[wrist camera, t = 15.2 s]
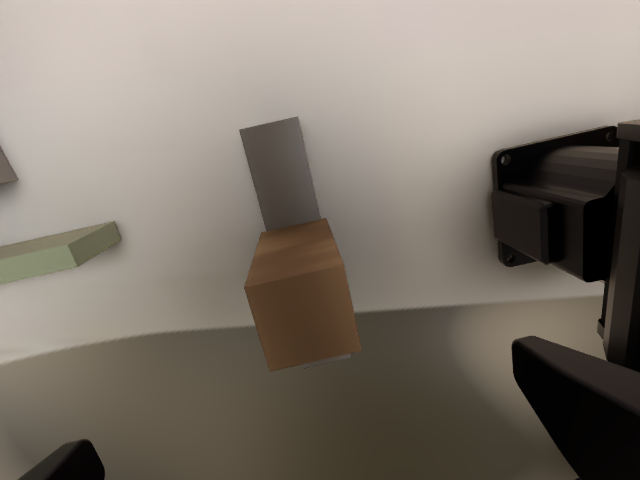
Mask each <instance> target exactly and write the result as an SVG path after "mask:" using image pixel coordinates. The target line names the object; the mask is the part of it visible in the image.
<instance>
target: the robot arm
mask: <svg viewBox="0 0 640 480" xmlns="http://www.w3.org/2000/svg"><path fill="white" fill-rule="evenodd" d="M607 133H609V137H608V139H607V140H606V134H607ZM504 155H505V156H506V161H505V163H503V164H502V162H501V158H502V157H503V156H504ZM492 164H493V179H494V192H493V194H492V207H493V221H494V235H495V238H496V239H498V252H499V260H500V262H501V263H502V264H504V265H505V266H508V267H514V266H518V265H522V264H527V263H531V262H535V261H539V262H541V263H543V264H545V265H547V264H552V265H554V266H556V267H558V268H560V269H561V270H563V271H565V272H567V273H569V274H571V275H573V276H575V277H577V278H579V279H581V280H583V281H585V282H594V281H601V282H603V283H605V287H604V297H603V308H602V316H601V319H599V320H598V327H597V332H598V334H599V335H600V336H601V338H602V339H603V347H604V351H605V354H606V359H607V361H605V360H602V359H600V358H596V357H594V356H591V355H588V354H585V353H582V352H579V351H576V350H573V349H570V348H568V347H565V346H562V345H559V344H556V343H553V342H550V341H547V340H544V339H541V338H538V337H536V336H528V337H523V338H519V339H515V340H514V341H513V342H512V362H513V374H514V378H515V380H516V382H517V384H518V386H519V388H520V389H521V391H522V392H523V394H524V396H525V397H526V399H527V400H528V402H529V403H530V405H531V406H532V408H533V410H534V411H535V413H536V414H537V416H538V418H539V419H540V421H541V422H542V424H543V425H544V427H545V429H546V430H547V432H548V433H549V435H550V437H551V438H552V440H553V441H554V443H555V444H556V446H557V447H558V449H559V450H560V452H561V453H562V455H563V456H564V457H565V459H566V460H567V462H568V463H569V464H570V466H571V467H572V468H573V469H574V471H575V472H576V473H577V475H578V476H579V477H580V479H581V480H640V120H634V121H627V122H621V123H618V126H617V127H615V126H603V127H599V128H595V129H590V130H586V131H581V132H577V133H572V134H568V135H563V136H559V137H555V138H550V139H546V140H541V141H537V142H532V143H528V144H524V145H519V146H515V147H510V148H506V149H501V150H499V151H497V152H496V153H495V154H494V156H493V160H492ZM511 254H512V258H511V259H510V260H507V258H508V256H509V255H511ZM104 478H105V470H104V466H103V464H102V462H101V460H100V458H99V456H98V454H97V452H96V450H95V448H94V446H93V444H92V443H91V441H89V440H88V439H79V440H75V441H70V442H67V443H65V444H63V445H62V446H60V447H59V448H58V449H56V450H55V451H54V452H53V453H51V454H50V455H49V456H47V457H46V458H45V459H44V460H42V461H41V462H40V463H38V464H37V465H36V466H34V467H33V468H32V469H30V470H29V471H28V472H27V473H25V474H24V475H23V476H21V477H20V478H19V479H18V480H104Z"/></svg>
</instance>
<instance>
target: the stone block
mask: <svg viewBox="0 0 640 480" xmlns="http://www.w3.org/2000/svg"><path fill="white" fill-rule="evenodd" d="M15 180H19V179H18V177H17V176H16V174H15V172H14V170H13V168H12V167H11V165H10V163H9V161H8V159H7V157H6V156H5V154H4V152H3V150H2V148H1V146H0V185H3V184H6V183H9V182H12V181H15Z"/></svg>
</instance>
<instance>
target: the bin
mask: <svg viewBox="0 0 640 480" xmlns="http://www.w3.org/2000/svg"><path fill="white" fill-rule="evenodd" d="M120 240H121V237H120V235H119V232H118V230H117V227H116V225H115V222H114V221H113V222H109V223H104V224H100V225H95V226H91V227H87V228H82V229H78V230H73V231H69V232H64V233H60V234H56V235H51V236H47V237H42V238H38V239H33V240H29V241H24V242H20V243H16V244H11V245H7V246H2V247H0V284H5V283H9V282H13V281H18V280H22V279H27V278H31V277H36V276H40V275H44V274H49V273H53V272H58V271H62V270H67V269H71V268H75V267H78V266H80V265H81V264H83V263H85V262H86V261H88V260H89V259H91V258H93V257H94V256H96V255H97V254H99V253H101V252H102V251H104V250H105V249H107V248H109V247H110V246H112V245H113V244H115V243H117V242H118V241H120Z"/></svg>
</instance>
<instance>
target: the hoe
mask: <svg viewBox="0 0 640 480" xmlns="http://www.w3.org/2000/svg"><path fill="white" fill-rule="evenodd" d="M239 131H240V135H241V138H242V142H243V146H244V149H245V153H246V157H247V160H248V164H249V168H250V172H251V175H252V179H253V183H254V186H255V190H256V194H257V197H258V201H259V205H260V209H261V212H262V216H263V220H264V223H265V227H266V231H267V232H262V233H261V235H260V239H259V242H258V245H257V248H256V251H255V255H254V258H253V261H252V264H251V267H250V271H249V274H248V277H247V280H246V283H245V287H244V289H245V292H246V295H247V298H248V302H249V305H250V308H251V312H252V315H253V318H254V321H255V325H256V328H257V331H258V335H259V337H260V341H261V344H262V347H263V351H264V354H265V357H266V361H267V364H268V367H269V370H270V372H271V371H275V370H280V369H284V368H288V367H293V366H297V365H301V364H303V367H304V368H308V367H312V366H317V365H321V364H325V363H330V362H334V361H339V360H343V359H347V358H351V355H350V353H354V352H358V351H361V345H360V341H359V335H358V330H357V326H356V321H355V316H354V311H353V307H352V302H351V297H350V292H349V287H348V283H347V278H346V273H345V268H344V264H343V261H342V259H341V256H340V254H339V251H338V248H337V246H336V243H335V240H334V238H333V235H332V233H331V230H330V227H329V225H328V222H327V219H326V218H324V219H320V214H319V210H318V205H317V201H316V196H315V192H314V187H313V183H312V178H311V174H310V169H309V164H308V160H307V155H306V151H305V146H304V142H303V137H302V133H301V128H300V124H299V119H298V117H294V118H290V119H285V120H281V121H276V122H272V123H267V124H263V125H258V126H254V127H250V128H245V129H241V130H239Z"/></svg>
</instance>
